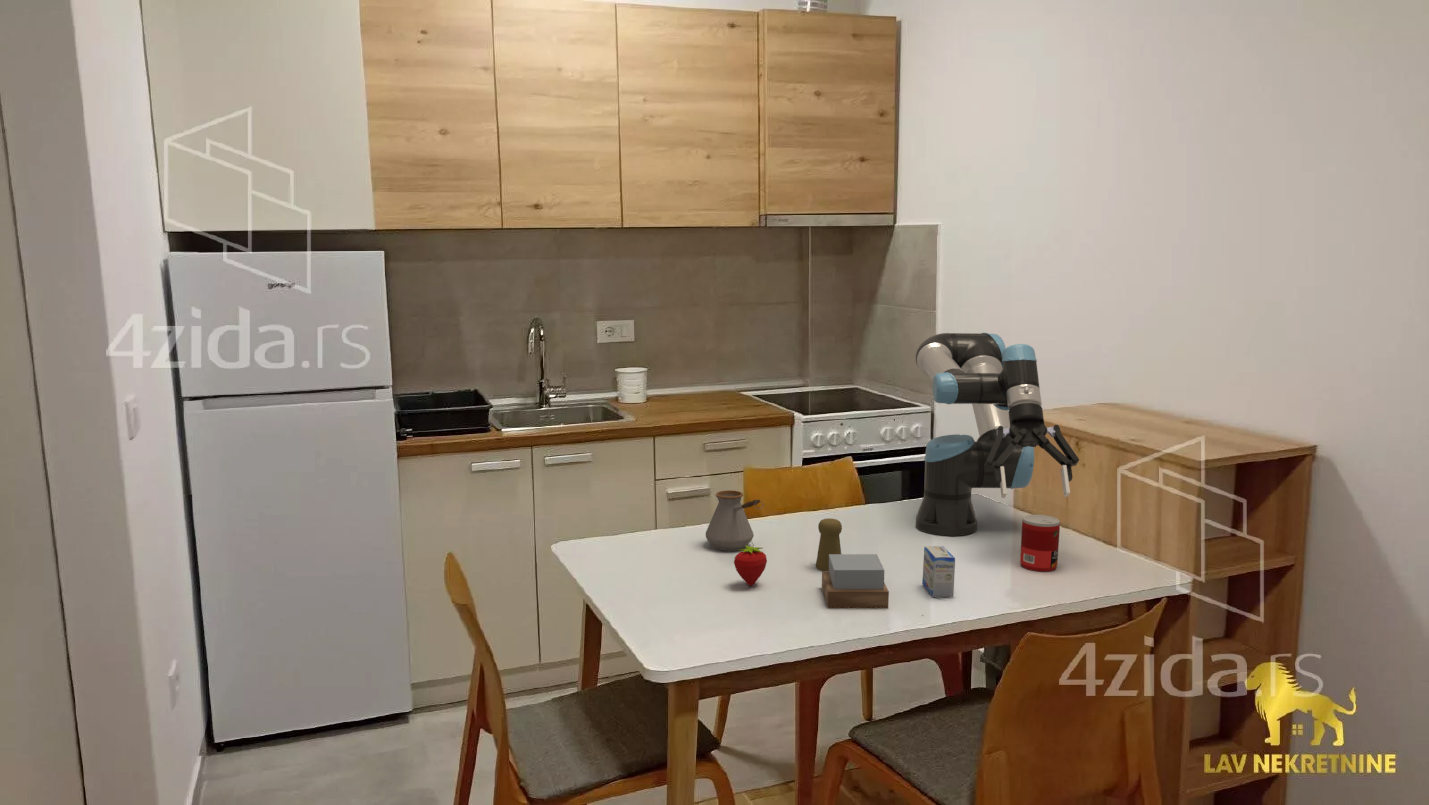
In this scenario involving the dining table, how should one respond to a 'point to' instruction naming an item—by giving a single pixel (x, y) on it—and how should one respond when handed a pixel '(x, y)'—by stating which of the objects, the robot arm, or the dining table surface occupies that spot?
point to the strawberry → (750, 564)
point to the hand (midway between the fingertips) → (1035, 495)
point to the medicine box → (938, 571)
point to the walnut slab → (853, 596)
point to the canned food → (1039, 542)
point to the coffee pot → (730, 522)
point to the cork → (828, 542)
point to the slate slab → (856, 571)
